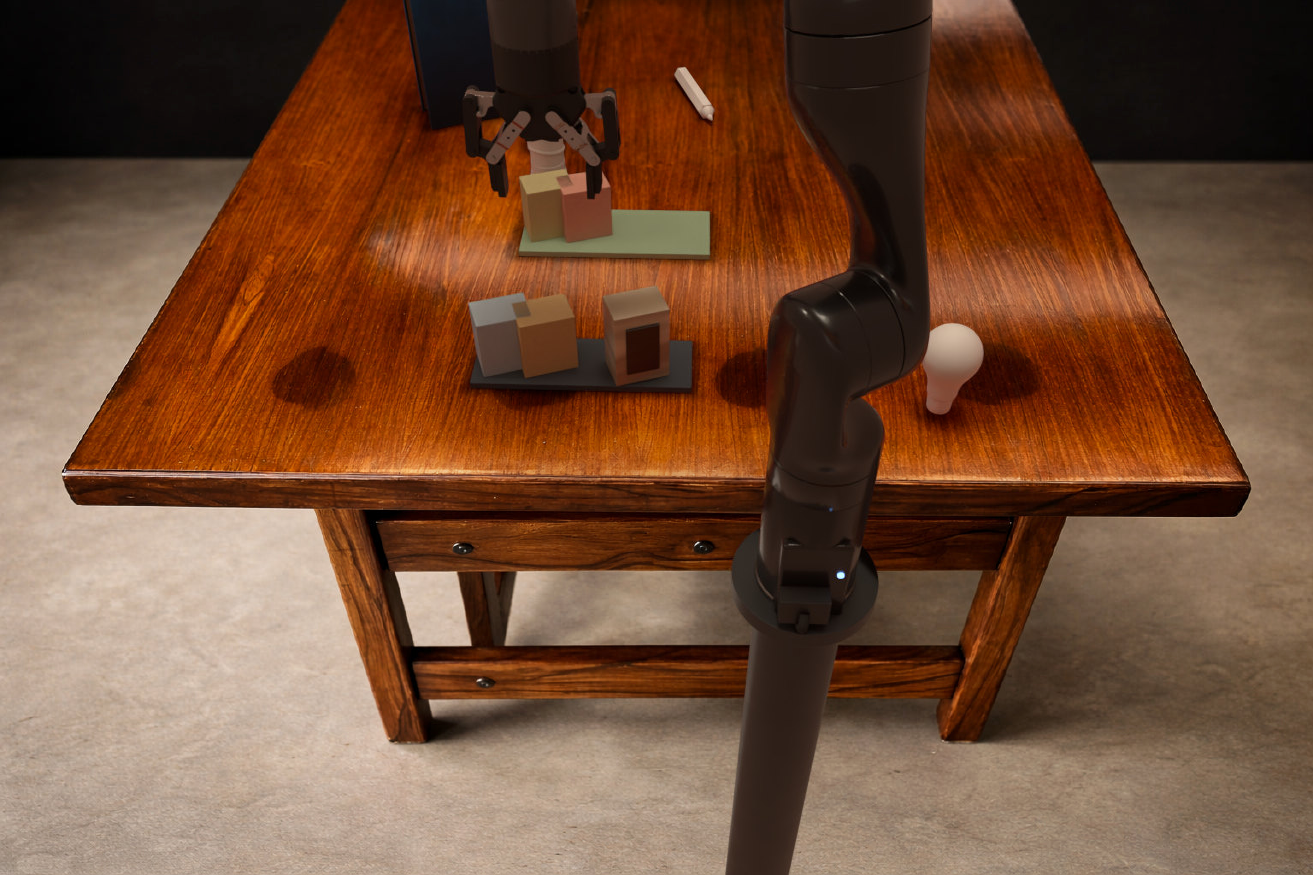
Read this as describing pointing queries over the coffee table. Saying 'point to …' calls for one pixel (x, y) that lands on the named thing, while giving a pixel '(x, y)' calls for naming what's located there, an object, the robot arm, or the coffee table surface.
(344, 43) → the coffee table surface
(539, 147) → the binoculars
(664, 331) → the tall taupe block
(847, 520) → the robot arm
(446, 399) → the coffee table surface
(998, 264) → the coffee table surface
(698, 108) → the marker
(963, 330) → the lightbulb
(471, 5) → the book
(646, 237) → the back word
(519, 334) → the blocks on base plate
